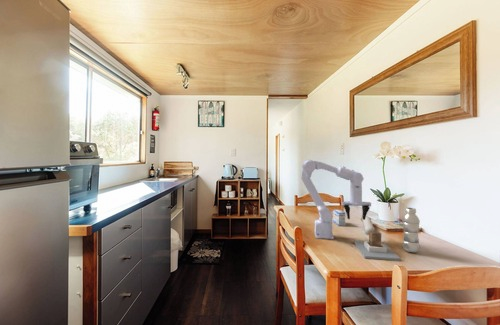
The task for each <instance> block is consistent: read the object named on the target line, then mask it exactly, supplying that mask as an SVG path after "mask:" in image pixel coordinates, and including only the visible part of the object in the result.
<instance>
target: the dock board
mask: <svg viewBox="0 0 500 325" xmlns="http://www.w3.org/2000/svg"><path fill="white" fill-rule="evenodd" d="M353 244H354V245H355V246H356V248H357V249H358V251H359V252H360V254H361V255H362V257H363V258H364V259H369V260H385V261H395V262H396V261H398V262H401V260H402V259H401V257H399V255H398V254H397V253H396V252H394V251H393V249H392V248H390V247H389V246H388V245H387V244H386V243H385V242H383V241H381V247H372V246H370V245H369V240H368V241H367V240H353Z"/></svg>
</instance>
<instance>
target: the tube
mask: <svg viewBox="0 0 500 325" xmlns="http://www.w3.org/2000/svg"><path fill="white" fill-rule="evenodd" d="M361 221H362V224H363V228H364V233H365V234H366V235H368V236H369V230H373V231H376V230H375V227H374V224H373V222H372V218H371V217H370V216H368V215H366V217H365V220H363V218H361Z"/></svg>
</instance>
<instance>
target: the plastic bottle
mask: <svg viewBox="0 0 500 325" xmlns="http://www.w3.org/2000/svg"><path fill="white" fill-rule="evenodd" d="M416 213H417V210H416V208H414V207H406V208H405V214H404V215H403V216H402V219H401V220H402V227H403V239H402V248H403V250H405V251H407V252H410V253H412V254H415V253H419V252H420V250H421V244H420V240H419V238H420V237H419V228H420V221H421V220H420V218H419V217H418V216H417V214H416Z"/></svg>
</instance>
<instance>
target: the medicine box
mask: <svg viewBox="0 0 500 325" xmlns="http://www.w3.org/2000/svg"><path fill="white" fill-rule="evenodd" d="M332 211H333V213H332V216H333V217H332V223H334V224H335V225H337V226H339V227H343V226H346V211H345V212H344V211H343V210H341V209H333V210H332Z"/></svg>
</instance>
